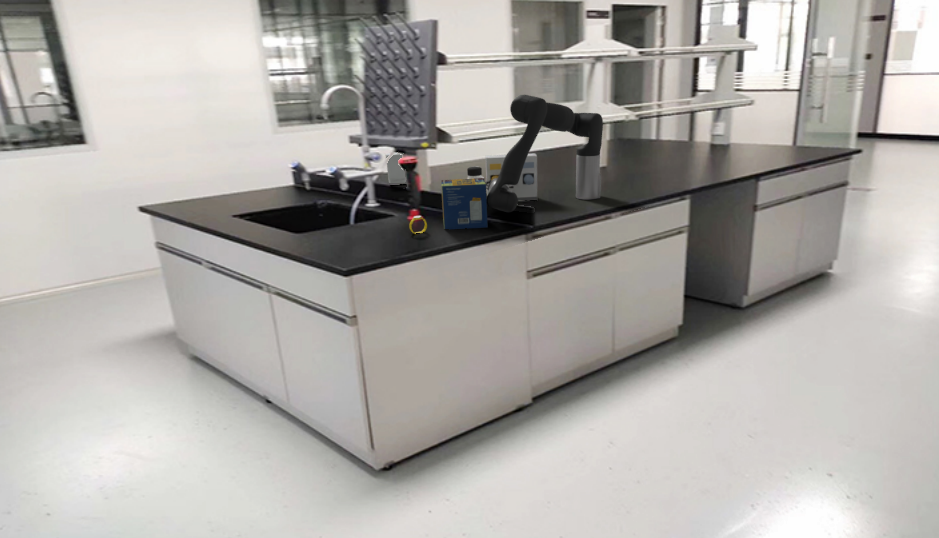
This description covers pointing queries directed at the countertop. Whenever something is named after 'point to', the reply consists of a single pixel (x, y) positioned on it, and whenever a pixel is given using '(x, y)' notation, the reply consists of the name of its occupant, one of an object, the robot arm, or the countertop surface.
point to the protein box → (464, 203)
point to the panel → (521, 188)
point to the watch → (417, 219)
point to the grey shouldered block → (395, 169)
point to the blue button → (528, 179)
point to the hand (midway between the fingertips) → (496, 180)
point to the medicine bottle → (474, 172)
